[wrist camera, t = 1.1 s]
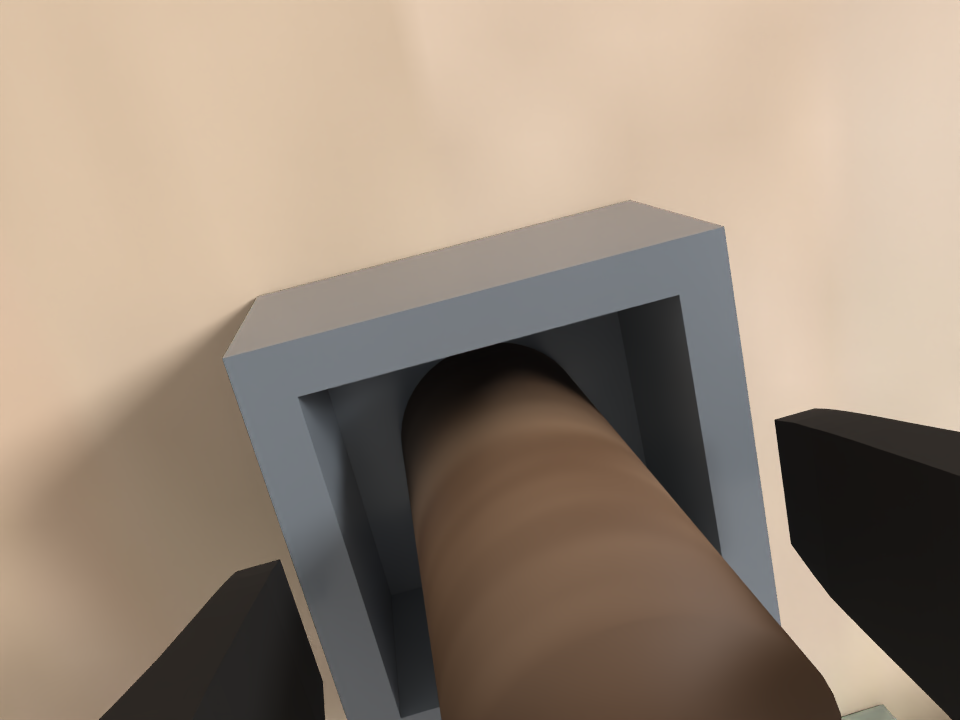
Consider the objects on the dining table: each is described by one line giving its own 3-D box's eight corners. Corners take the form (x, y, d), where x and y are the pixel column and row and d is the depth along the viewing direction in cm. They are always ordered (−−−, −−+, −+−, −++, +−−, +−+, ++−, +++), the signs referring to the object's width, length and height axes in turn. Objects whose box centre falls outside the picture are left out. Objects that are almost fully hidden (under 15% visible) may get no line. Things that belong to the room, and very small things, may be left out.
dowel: (620, 397, 16) (919, 708, 8) (522, 545, 17) (698, 990, 8) (463, 307, 15) (604, 545, 7) (366, 468, 16) (379, 877, 7)
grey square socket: (630, 200, 16) (724, 226, 12) (687, 528, 18) (784, 645, 14) (257, 296, 15) (221, 358, 11) (363, 622, 17) (365, 772, 13)
